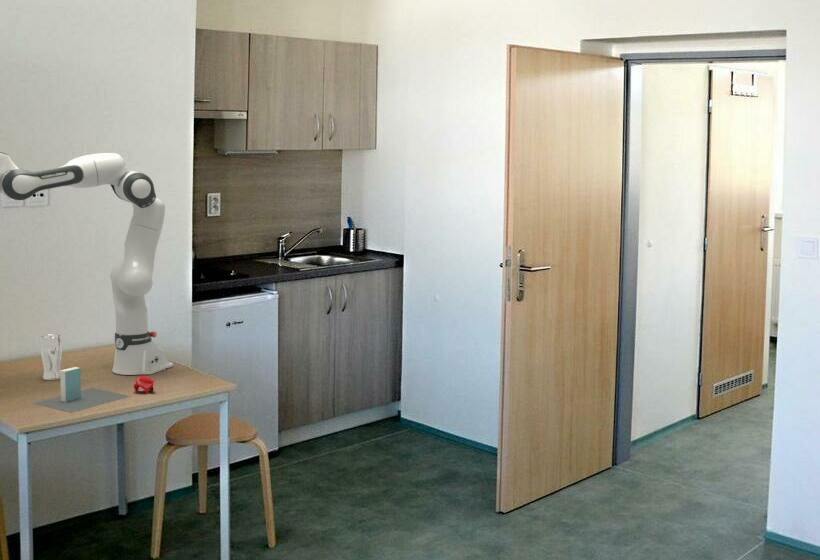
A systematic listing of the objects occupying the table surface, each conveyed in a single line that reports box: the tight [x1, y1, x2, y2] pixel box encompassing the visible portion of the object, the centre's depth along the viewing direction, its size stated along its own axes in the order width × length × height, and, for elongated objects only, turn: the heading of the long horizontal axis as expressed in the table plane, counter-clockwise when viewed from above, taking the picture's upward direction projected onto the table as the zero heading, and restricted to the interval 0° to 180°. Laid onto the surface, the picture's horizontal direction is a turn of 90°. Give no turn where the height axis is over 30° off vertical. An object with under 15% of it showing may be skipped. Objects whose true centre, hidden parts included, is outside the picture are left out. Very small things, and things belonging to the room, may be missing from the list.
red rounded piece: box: [133, 375, 154, 394], centre depth 341 cm, size 8×6×6 cm
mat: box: [33, 387, 131, 414], centre depth 330 cm, size 24×18×1 cm
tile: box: [59, 366, 82, 402], centre depth 329 cm, size 6×2×10 cm, turn 148°
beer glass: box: [40, 333, 63, 381], centre depth 357 cm, size 7×7×15 cm
